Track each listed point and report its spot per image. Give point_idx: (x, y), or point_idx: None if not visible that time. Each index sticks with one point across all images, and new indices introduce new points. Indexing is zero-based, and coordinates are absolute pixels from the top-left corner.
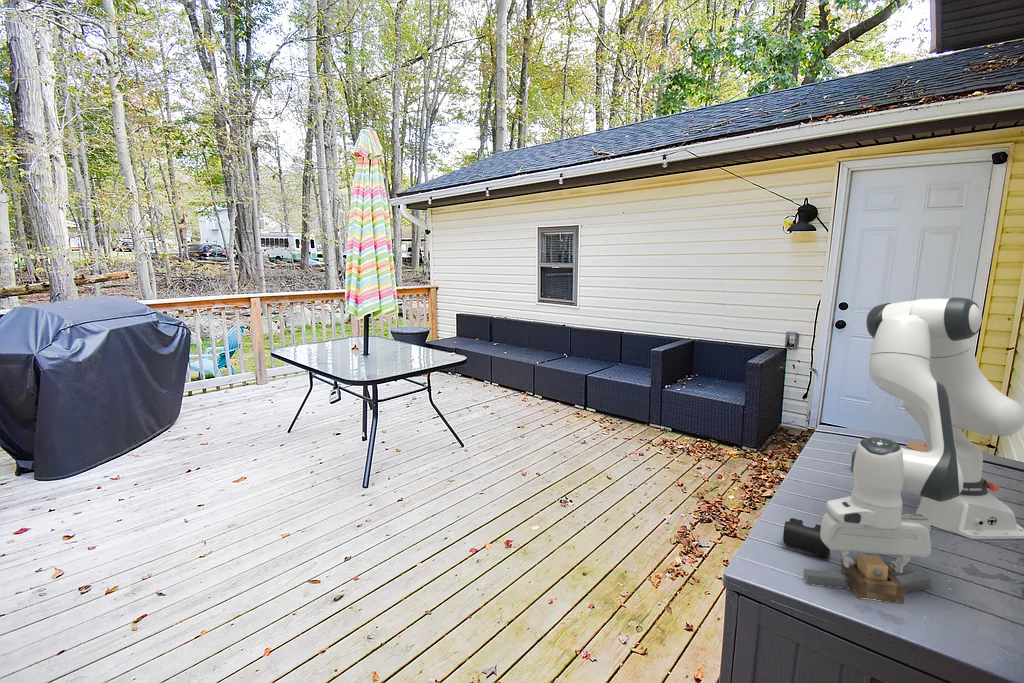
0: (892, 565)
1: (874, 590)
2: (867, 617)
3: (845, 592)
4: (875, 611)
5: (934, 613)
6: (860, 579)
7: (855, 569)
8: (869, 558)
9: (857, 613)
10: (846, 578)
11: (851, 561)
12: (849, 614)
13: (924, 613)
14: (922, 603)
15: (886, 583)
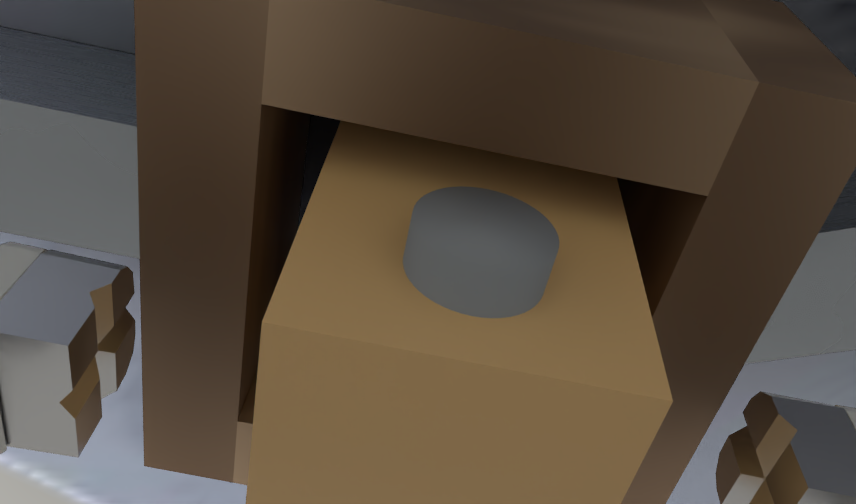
0: (766, 482)
1: None
2: (167, 486)
3: None
4: None
5: None
6: (182, 429)
7: (233, 253)
8: (408, 454)
9: (109, 452)
10: (112, 240)
11: (37, 445)
12: (39, 456)
13: (679, 483)
14: (804, 394)
15: None
